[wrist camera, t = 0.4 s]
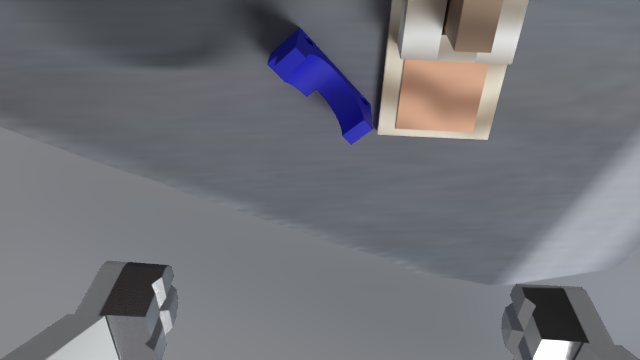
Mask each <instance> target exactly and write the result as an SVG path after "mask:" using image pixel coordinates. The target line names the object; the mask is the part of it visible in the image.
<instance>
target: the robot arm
mask: <svg viewBox="0 0 640 360" xmlns="http://www.w3.org/2000/svg"><path fill="white" fill-rule="evenodd" d="M173 278H174V274H173V270H172V267H171V266H169V265H159V264H146V263H133V262H117V261H107V262H105V263H104V264H103V265H102V266H101V268H100V269H99V271H98V273H97V275H96V277H95V278H94V280H93V282H92V284H91V286H90V287H89V289H88V291H87V293H86V294H85V296H84V298H83V300H82V302H81V303H80V305H79V307H78V309H77V310H76V312H75V314H67V315H66V316H64V317H63V318H61V319H60V320H58V321H57V322H55V323H54V324H52V325H51V326H49V327H48V328H47V329H45V330H43V331H42V332H40V333H39V334H38V335H36V336H35V337H33V338H32V339H30V340H29V341H27V342H26V343H24V344H23V345H21V346H20V347H18V348H17V349H15V350H14V351H12V352H11V353H9V354H8V355H6V356H5V357H3V358H2V359H0V360H162V357H163V354H164V352H165V349H166V346H167V342H166V337H165V334H166V333H167V332H168V331H170V330H171V329H172V328H173V326H174V322H175V319H176V315H177V309H178V295H177V289H175V288H174V287H173V286H172V285H171V283H172V281H173ZM510 297H511V299H512V302H513V303H512V304H510V305H509V306H507V307H506V308H505V310H504V313H503V317H502V328H501V329H502V336H503V340H504V344H505V347H506V348H507V349H508V350H509V351H510V352H511V353H512V354H513V355H514V357H513V360H640V359H638V358H637V357H636V356H634V355H633V354H632V353H631V352H629V351H628V350H627V349H625V348H624V347H623V346H621V345H615V344H614V342H613V340H612V339H611V337H610V335H609V333H608V331H607V329H606V327H605V325H604V324H603V322H602V320H601V318H600V316H599V314H598V312H597V311H596V309H595V307H594V305H593V303H592V301H591V299H590V297H589V296H588V294H587V292H586V290H585V289H583V288H582V287H570V286H549V285H526V284H516V285H515V286H514V287H513V289H512V291H511V294H510Z"/></svg>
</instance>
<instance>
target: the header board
mask: <svg viewBox="0 0 640 360" xmlns="http://www.w3.org/2000/svg"><path fill="white" fill-rule="evenodd" d="M528 2H529V0H503V4H502V9H501V13H500V17H499V21H498V25H497V30H496V34H495V38H494V42H493V46H492V51H491V53H478V52H455V51H454V50H453V48H452V46H451V44H450V42H449V39H448V37H447V35H446V33H445V31H444V29H443V23H444V17H445V11H446V6H447V0H392V1H391V10H390V19H389V28H388V37H387V46H386V55H385V65H384V74H383V83H382V92H381V101H380V110H379V119H378V128H377V133H378V135H399V136H421V137H442V138H463V139H485V140H488V136H489V132H490V128H491V125H492V121H493V117H494V113H495V109H496V106H497V102H498V98H499V94H500V90H501V86H502V83H503V79H504V75H505V71H506V67H507V64H512V62H513V58H514V54H515V50H516V47H517V43H518V39H519V35H520V32H521V28H522V24H523V20H524V17H525V13H526V9H527V5H528Z"/></svg>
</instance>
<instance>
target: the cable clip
mask: <svg viewBox="0 0 640 360" xmlns="http://www.w3.org/2000/svg"><path fill="white" fill-rule="evenodd" d="M267 64H268V65H269V66H270V67H271V68H272V69H273V70H274V71H275V72H276V73H277V74H278V75H279V76H280V78H281V79H282V80H283V81H284V82H287V83H289V84H291V85H293V86H294V87H296V88H297V89H298V90H300V91H301V92H302V93H303V94H304V95H305V96H306V97H307V96H308V95H310V94H311V93H312V92H313V91H315V90H316V89H317V90H318V91H319V92H320V93H321V95H322V96H323V97H324V98H325V100H326V101H327V102H328V104H329V105H330V107H331V108H332V110H333V111H334V113H335V115H336V117H337V119H338V121H339V124H340V126H341V130H342V136H343V137H344V138H345V139H346V140H347V141H348V142H349V143H350V144H351V145H352V144H353V143H354V142H356V141H357V140H359V139H360V138H361V137H363V136H364V135H365V134H367V133H368V132H370V131H371V130H372V129H373V127H372V116H371V105H370V103H369V102H368V101H367V100H366V99H365V98H364V97H363V96H362V95H361V94H360V93H359V91H358V90H357V89H356V88H355V87H354V86H353V85H352V84H351V83H350V82H349V81H348V79H347V78H346V77H345V76H344V75H343V74H342V73H341V72H340V71H339V70H338V69H337V67H336V66H335V65H334V64H333V63H332V62H331V61H330V60H329V59H328V58H327V57H326V55H325V54H324V53H323V52H322V51H321V50H320V49H319V48H318V47H317V46H316V45H315V43H314V42H313V41H312V40H311V39H310V38H309V37H308V36H307V35H306V34H305V32H304V31H303V30H302V29H301V28H299V29H298V30H297V31H296V32H295V33H294V34H293V35H291V36H290V37H289V38H288V39H287V40H286V41H285V42H284V43H282V44H281V45H280V46H279V47H278V48H277V49H276V50H275V51H274V52H272V53H271V54H270V57H269V60H268V63H267Z"/></svg>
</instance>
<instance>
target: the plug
mask: <svg viewBox="0 0 640 360" xmlns="http://www.w3.org/2000/svg"><path fill="white" fill-rule="evenodd" d="M502 4H503V0H447V6H446V11H445V17H444V23H443V29H444V31H445V33H446V35H447V37H448V39H449V42H450V44H451V46H452V48H453V50H454V51H455V52H478V53H491V51H492V46H493V42H494V38H495V34H496V30H497V25H498V21H499V17H500V13H501V9H502Z"/></svg>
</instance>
